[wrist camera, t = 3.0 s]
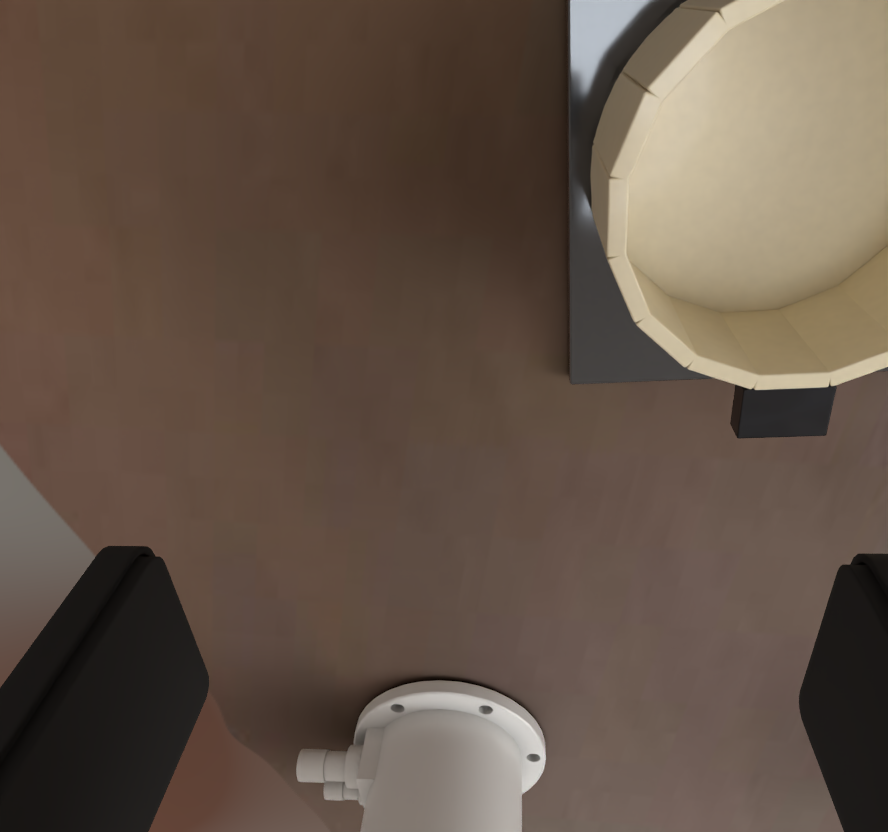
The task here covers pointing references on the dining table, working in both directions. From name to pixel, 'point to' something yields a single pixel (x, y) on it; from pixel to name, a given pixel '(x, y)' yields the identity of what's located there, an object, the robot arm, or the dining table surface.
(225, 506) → the dining table surface
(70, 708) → the robot arm
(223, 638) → the dining table surface
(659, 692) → the dining table surface
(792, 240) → the pot
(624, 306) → the cooktop
